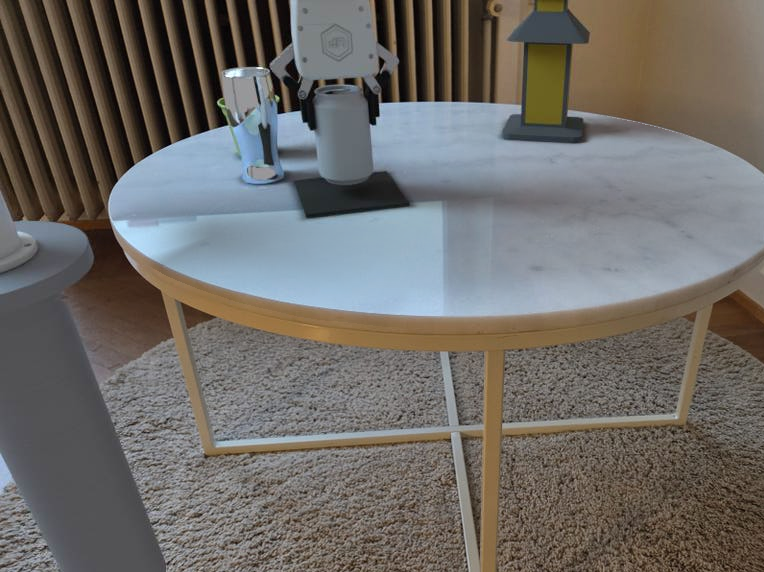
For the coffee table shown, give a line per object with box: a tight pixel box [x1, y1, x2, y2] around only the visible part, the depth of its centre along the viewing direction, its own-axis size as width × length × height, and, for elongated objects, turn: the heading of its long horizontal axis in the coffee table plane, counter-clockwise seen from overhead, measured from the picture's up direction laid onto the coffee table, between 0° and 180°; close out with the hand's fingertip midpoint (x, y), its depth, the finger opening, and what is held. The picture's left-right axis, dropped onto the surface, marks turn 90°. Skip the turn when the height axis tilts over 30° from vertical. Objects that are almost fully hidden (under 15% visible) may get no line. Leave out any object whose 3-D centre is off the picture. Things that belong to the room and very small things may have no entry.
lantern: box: [501, 0, 591, 144], centre depth 117 cm, size 14×14×30 cm
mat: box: [293, 170, 410, 218], centre depth 96 cm, size 14×14×1 cm
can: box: [312, 84, 375, 185], centre depth 92 cm, size 8×8×12 cm
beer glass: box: [220, 66, 285, 185], centre depth 98 cm, size 7×7×15 cm
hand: (342, 124), depth 91 cm, fingers closed on can, 7 cm apart
